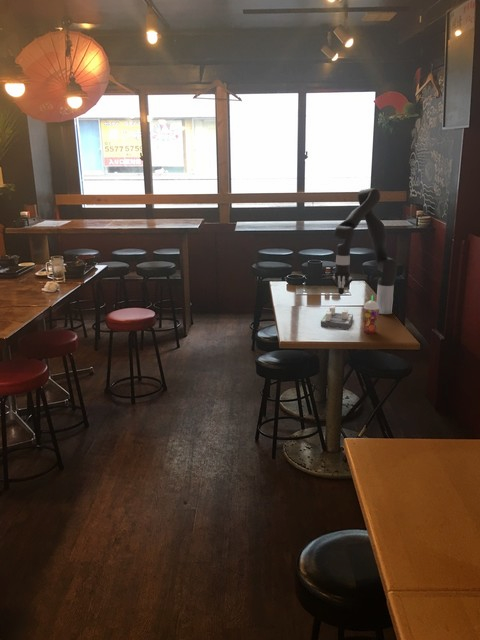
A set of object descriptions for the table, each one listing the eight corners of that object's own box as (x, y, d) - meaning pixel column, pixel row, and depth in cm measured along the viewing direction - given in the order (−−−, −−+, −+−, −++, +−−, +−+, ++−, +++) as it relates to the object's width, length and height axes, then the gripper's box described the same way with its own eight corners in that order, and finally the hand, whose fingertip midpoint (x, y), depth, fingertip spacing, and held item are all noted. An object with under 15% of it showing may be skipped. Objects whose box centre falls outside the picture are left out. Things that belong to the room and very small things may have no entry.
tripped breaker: (347, 317, 314) (347, 310, 313) (346, 319, 309) (346, 312, 308) (343, 316, 314) (343, 309, 313) (341, 318, 310) (342, 311, 309)
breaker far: (334, 312, 322) (335, 306, 321) (333, 315, 318) (333, 308, 316) (330, 312, 323) (331, 305, 322) (329, 314, 318) (329, 307, 317)
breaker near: (331, 318, 310) (331, 311, 309) (329, 321, 306) (330, 314, 305) (327, 318, 311) (327, 311, 310) (325, 320, 306) (325, 313, 305)
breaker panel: (352, 319, 321) (353, 314, 320) (348, 329, 303) (348, 323, 302) (326, 317, 325) (327, 312, 324) (320, 326, 307) (320, 321, 306)
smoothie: (366, 328, 304) (368, 292, 298) (380, 331, 299) (383, 295, 293) (358, 332, 298) (361, 295, 292) (373, 335, 293) (376, 298, 287)
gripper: (355, 262, 306) (354, 293, 311) (331, 261, 310) (330, 291, 315) (354, 265, 299) (352, 296, 304) (329, 263, 303) (327, 294, 308)
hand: (341, 294), depth 309 cm, fingers closed
